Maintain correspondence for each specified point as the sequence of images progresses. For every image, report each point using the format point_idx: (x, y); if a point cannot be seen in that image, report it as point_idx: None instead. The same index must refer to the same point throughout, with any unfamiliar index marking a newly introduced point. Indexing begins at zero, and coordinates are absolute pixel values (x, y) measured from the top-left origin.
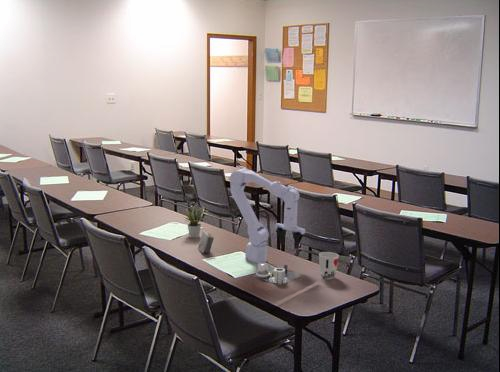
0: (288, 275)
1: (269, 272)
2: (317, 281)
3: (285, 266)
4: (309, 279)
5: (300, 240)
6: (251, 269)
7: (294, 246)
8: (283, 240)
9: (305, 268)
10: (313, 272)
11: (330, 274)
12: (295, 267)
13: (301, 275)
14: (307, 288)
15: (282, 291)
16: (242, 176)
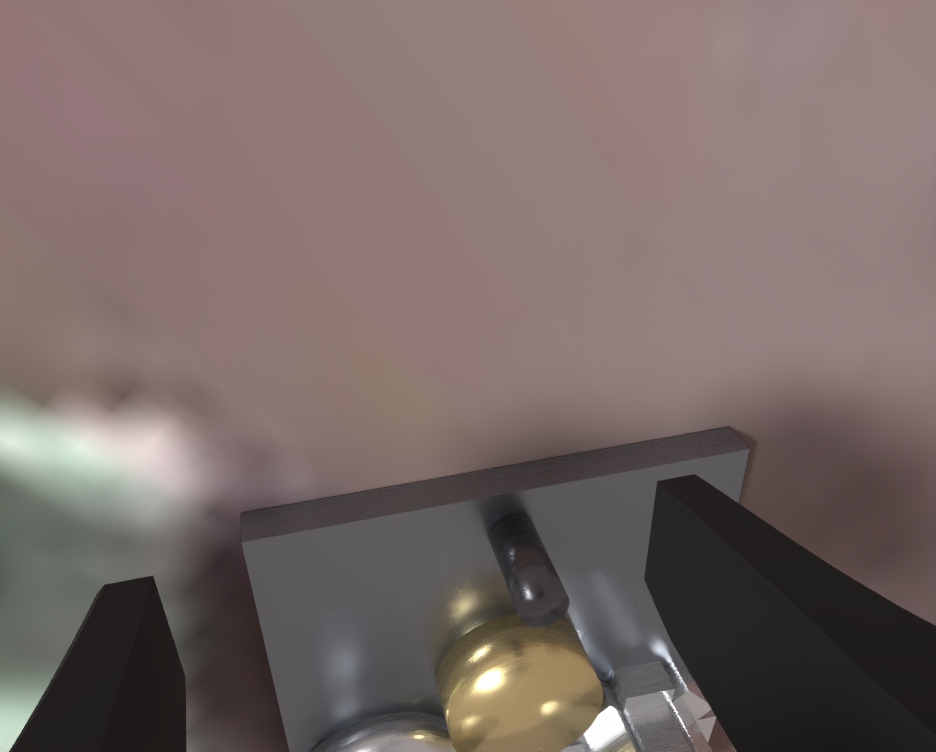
0: (612, 570)
1: (439, 749)
2: (929, 356)
3: (552, 614)
4: (824, 383)
5: (910, 633)
6: (27, 714)
7: (677, 643)
8: (147, 741)
9: (581, 68)
10: (778, 128)
11: None
12: (413, 171)
13: (745, 453)
14: (887, 558)
15: (720, 739)
16: None
